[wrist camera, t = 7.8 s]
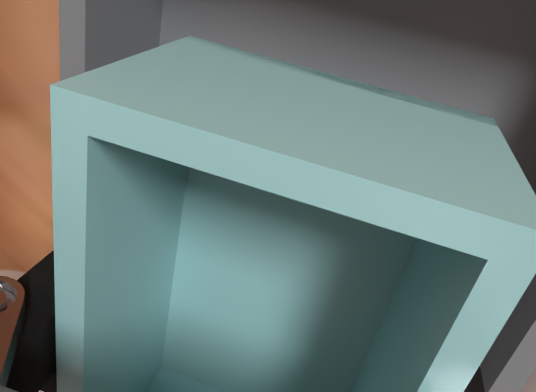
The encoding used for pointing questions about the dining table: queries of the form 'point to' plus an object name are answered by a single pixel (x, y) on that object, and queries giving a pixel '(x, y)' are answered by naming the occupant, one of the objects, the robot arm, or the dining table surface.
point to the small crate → (276, 229)
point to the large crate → (359, 74)
